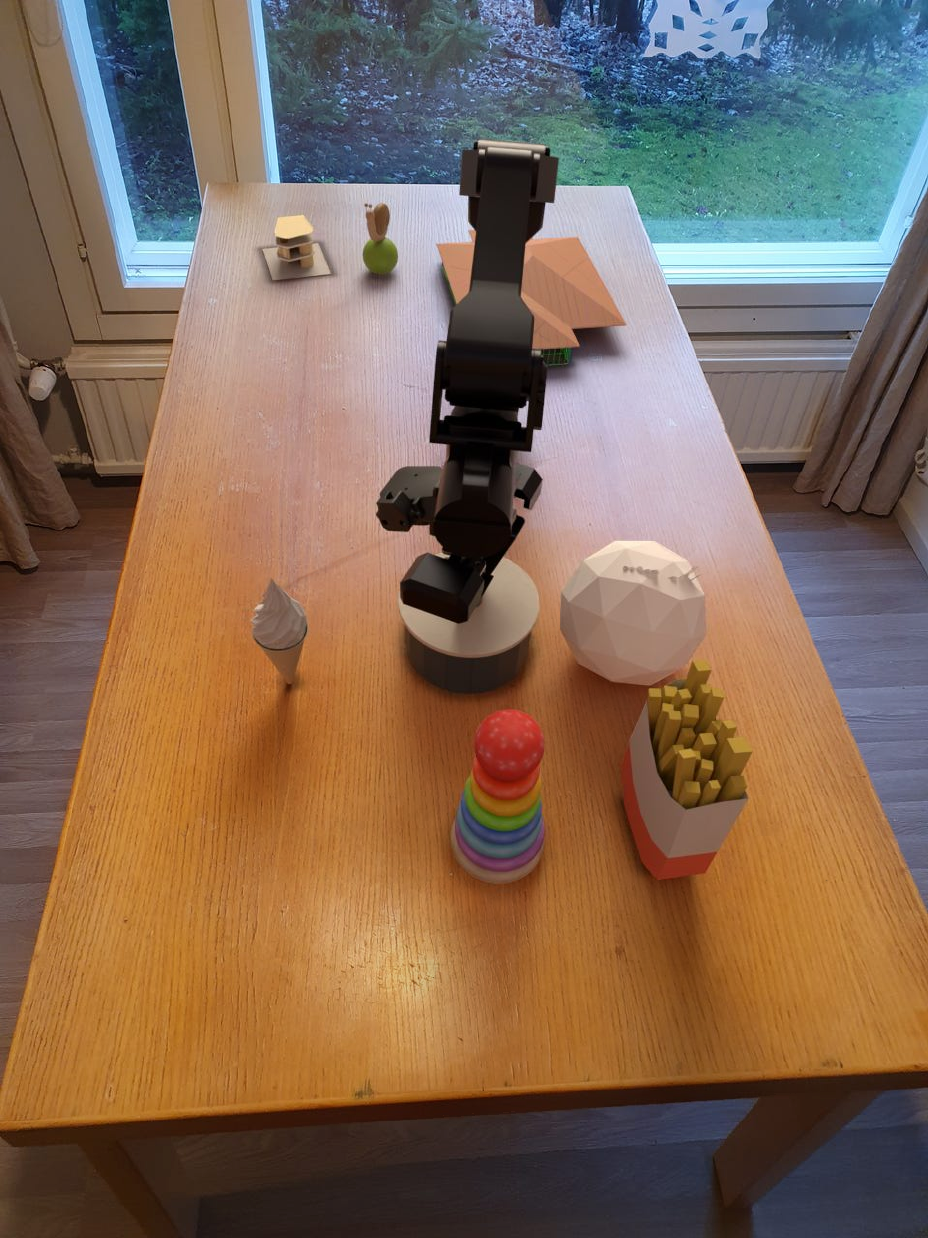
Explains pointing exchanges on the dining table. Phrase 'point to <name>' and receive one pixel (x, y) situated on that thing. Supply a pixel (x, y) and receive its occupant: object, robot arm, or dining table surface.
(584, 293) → the house
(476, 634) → the round peg stand
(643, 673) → the geodesic sphere
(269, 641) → the ice cream cone
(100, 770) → the dining table surface
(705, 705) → the french fries container
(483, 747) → the stacking toy
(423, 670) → the container
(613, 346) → the dining table surface
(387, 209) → the snail figurine
